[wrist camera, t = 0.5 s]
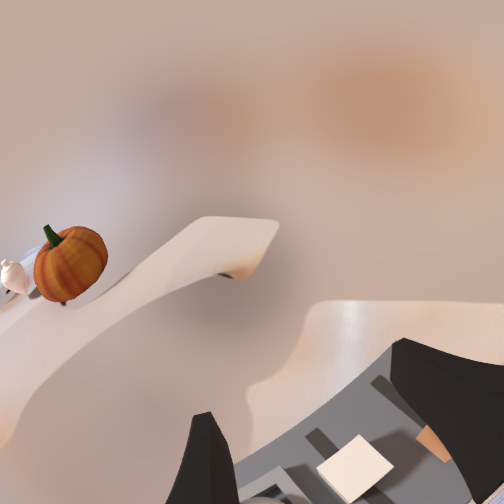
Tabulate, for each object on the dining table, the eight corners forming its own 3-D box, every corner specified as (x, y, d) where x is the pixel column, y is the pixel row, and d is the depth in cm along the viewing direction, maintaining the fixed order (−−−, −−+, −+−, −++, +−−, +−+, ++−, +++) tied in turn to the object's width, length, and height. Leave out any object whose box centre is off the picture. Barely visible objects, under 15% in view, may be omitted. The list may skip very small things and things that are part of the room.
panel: (510, 435, 14) (527, 423, 12) (292, 621, 7) (285, 633, 5) (394, 347, 28) (398, 328, 26) (191, 491, 20) (174, 486, 18)
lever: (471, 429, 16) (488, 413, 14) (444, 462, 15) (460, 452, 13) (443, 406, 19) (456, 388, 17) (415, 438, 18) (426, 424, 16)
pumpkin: (94, 306, 49) (51, 243, 40) (38, 314, 52) (0, 263, 43) (126, 247, 64) (97, 191, 56) (71, 262, 67) (44, 215, 59)
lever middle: (386, 474, 17) (394, 466, 14) (348, 504, 15) (349, 503, 13) (356, 446, 20) (359, 434, 17) (319, 474, 18) (316, 467, 16)
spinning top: (20, 295, 62) (-4, 262, 55) (38, 282, 64) (15, 248, 57) (17, 310, 56) (-9, 275, 49) (36, 296, 58) (10, 259, 52)
